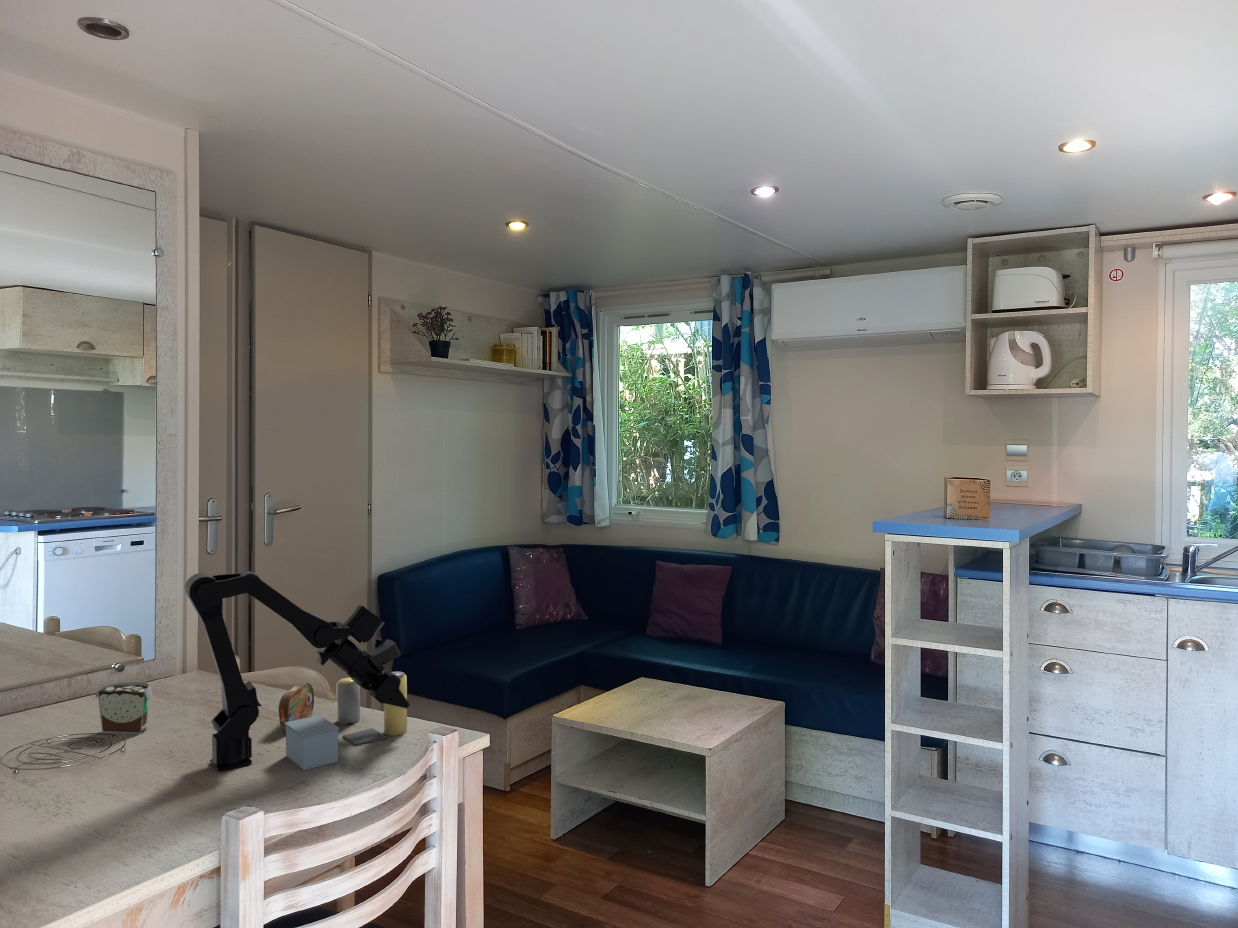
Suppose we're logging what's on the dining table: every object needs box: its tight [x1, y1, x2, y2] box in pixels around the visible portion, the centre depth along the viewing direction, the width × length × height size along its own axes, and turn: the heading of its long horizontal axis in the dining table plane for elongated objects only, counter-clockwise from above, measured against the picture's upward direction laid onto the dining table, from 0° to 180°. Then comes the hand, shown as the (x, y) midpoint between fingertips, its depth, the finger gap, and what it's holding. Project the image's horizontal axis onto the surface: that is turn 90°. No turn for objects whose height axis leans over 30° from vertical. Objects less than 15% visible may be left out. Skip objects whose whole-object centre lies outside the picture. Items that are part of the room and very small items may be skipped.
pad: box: [342, 727, 387, 746], centre depth 188 cm, size 7×7×1 cm
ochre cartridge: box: [383, 671, 408, 736], centre depth 192 cm, size 5×5×13 cm
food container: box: [95, 681, 153, 735], centre depth 194 cm, size 12×6×10 cm, turn 84°
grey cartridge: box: [336, 677, 361, 725], centre depth 200 cm, size 5×5×10 cm
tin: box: [278, 682, 315, 731], centre depth 198 cm, size 15×3×8 cm, turn 179°
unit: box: [284, 714, 340, 771], centre depth 176 cm, size 7×10×7 cm
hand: (401, 701), depth 193 cm, fingers open, 9 cm apart
